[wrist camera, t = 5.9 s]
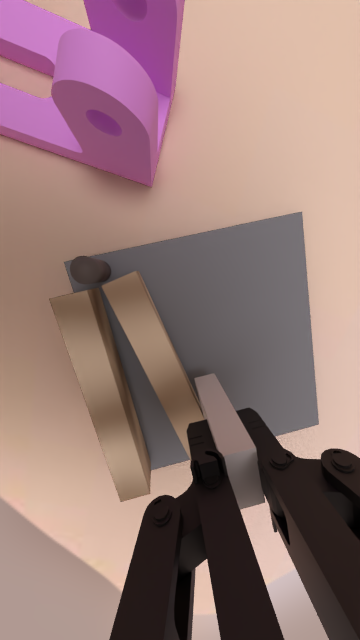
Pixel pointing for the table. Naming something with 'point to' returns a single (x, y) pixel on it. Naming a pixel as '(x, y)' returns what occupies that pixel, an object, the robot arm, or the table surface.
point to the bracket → (95, 81)
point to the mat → (224, 323)
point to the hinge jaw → (155, 351)
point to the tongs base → (103, 378)
